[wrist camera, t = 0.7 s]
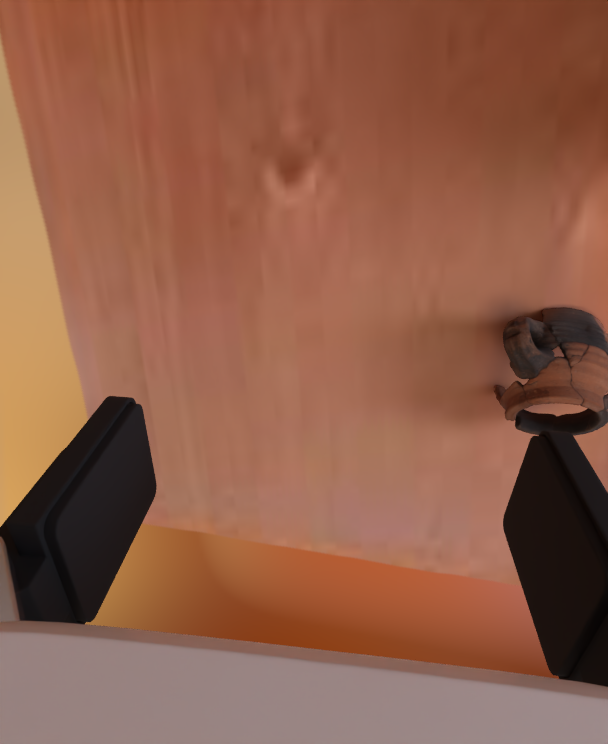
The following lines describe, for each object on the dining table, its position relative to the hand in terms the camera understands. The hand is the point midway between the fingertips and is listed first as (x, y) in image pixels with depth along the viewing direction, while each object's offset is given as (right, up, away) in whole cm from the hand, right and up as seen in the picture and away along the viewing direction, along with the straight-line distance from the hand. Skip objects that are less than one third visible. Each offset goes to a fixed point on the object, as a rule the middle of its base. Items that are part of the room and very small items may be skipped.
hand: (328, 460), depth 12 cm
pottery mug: (+19, +4, +29) cm, 36 cm away
